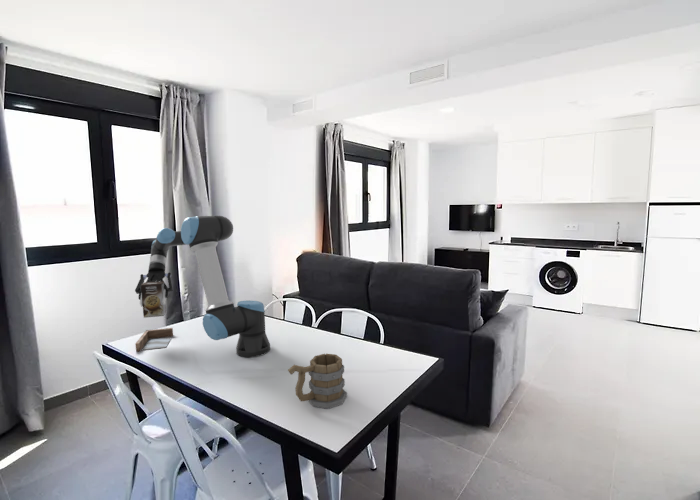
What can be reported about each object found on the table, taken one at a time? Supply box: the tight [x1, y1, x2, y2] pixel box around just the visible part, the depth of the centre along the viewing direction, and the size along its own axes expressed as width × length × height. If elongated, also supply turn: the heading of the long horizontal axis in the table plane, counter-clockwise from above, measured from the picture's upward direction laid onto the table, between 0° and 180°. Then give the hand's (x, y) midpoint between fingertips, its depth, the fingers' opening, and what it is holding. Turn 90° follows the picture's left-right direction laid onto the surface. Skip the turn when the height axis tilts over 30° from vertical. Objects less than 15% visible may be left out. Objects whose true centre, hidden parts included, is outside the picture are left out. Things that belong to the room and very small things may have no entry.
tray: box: [134, 327, 174, 353], centre depth 181 cm, size 19×12×4 cm
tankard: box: [287, 353, 348, 410], centre depth 124 cm, size 20×13×15 cm, turn 118°
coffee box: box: [141, 280, 167, 319], centre depth 177 cm, size 9×6×16 cm
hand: (152, 304), depth 174 cm, fingers closed on coffee box, 9 cm apart
